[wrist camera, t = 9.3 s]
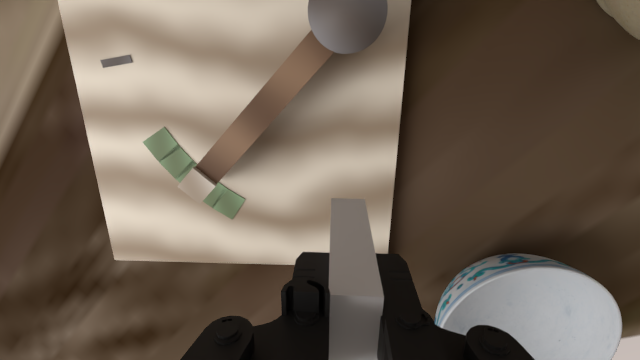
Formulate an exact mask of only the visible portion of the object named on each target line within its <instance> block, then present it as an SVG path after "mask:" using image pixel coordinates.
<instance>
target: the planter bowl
mask: <svg viewBox="0 0 640 360" xmlns="http://www.w3.org/2000/svg"><path fill="white" fill-rule="evenodd" d="M596 1H597V3H598V4H599V5H600V7H601V8H602V9H603V10H604V11H605V12H606V13H607V14H609V15H610V16H612V17H613V18H614V19H615V20H616V21H617V22H618V23H619V24H620V25H621V26H622V27H623V28H624V29H625V30H626V31H627V32H628V33H630V34H631V35H632V36H634V37H635V38H636V39H638V40H640V0H596Z"/></svg>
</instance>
